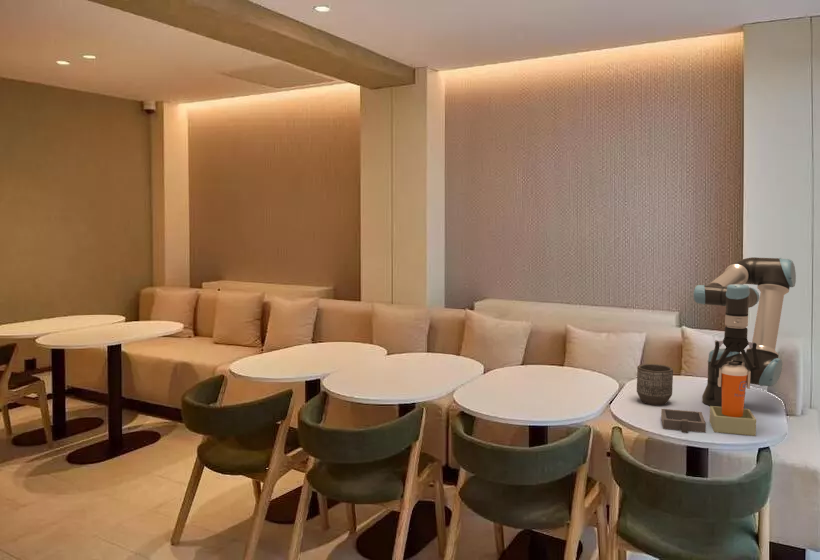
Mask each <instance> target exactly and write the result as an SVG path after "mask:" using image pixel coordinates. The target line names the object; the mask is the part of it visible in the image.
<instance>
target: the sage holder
mask: <svg viewBox="0 0 820 560" xmlns="http://www.w3.org/2000/svg"><path fill="white" fill-rule="evenodd" d="M709 423H710V426H711V428H712V431H713V433H717V434H720V433H721V434H728V435H738V436H740V435H741V436H749V437H751V436H752V437H756V435H757V418H756V417H755V416H754V414H753V413H752V411H751V409H750V408H744V410H743V416H742V417H729V416H725V415H723V414H722V407H717V406H710V405H709Z"/></svg>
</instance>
